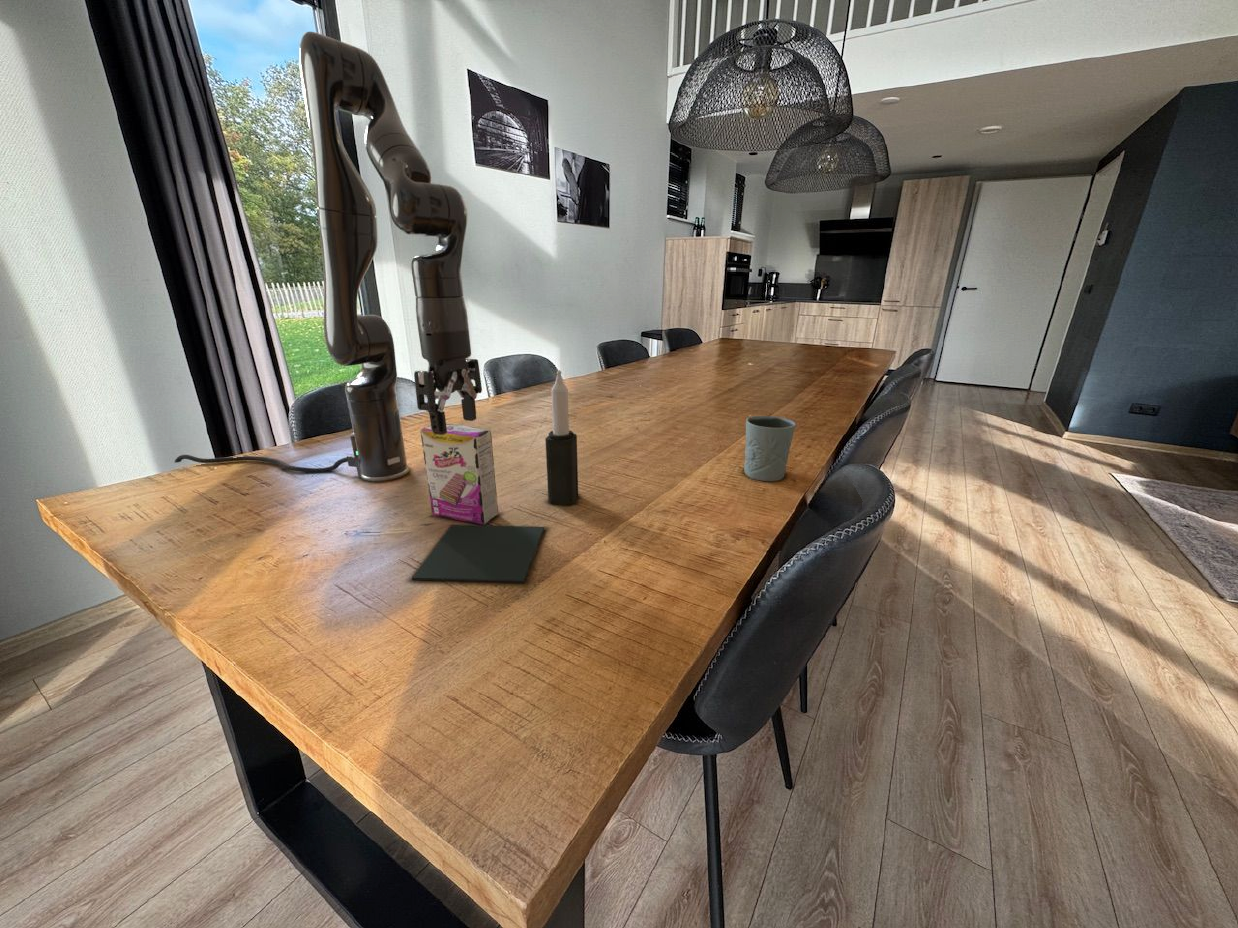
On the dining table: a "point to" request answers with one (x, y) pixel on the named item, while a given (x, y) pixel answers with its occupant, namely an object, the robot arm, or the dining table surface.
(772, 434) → the grey green embossed cup
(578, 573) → the dining table surface
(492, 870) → the dining table surface
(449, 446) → the candy bar box
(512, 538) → the mat
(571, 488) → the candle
